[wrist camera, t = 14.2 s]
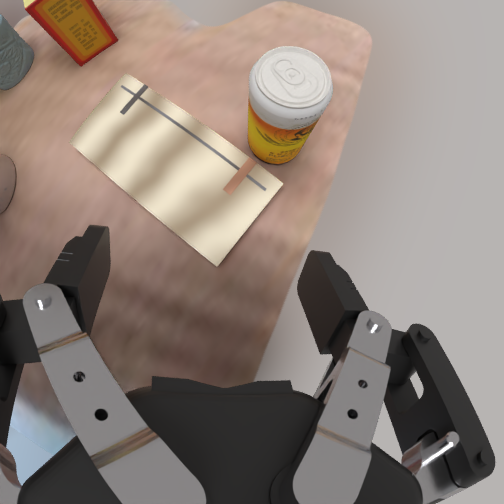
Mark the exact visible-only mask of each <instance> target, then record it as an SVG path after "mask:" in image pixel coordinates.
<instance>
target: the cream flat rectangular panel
mask: <svg viewBox="0 0 504 504" xmlns="http://www.w3.org/2000/svg"><path fill="white" fill-rule="evenodd" d="M69 143H70V144H71V145H73V146H74V147H75V148H76V149H77V150H78V151H79V152H80V153H82V154H83V155H84V156H85V157H86V158H87V159H88V160H90V161H91V162H92V163H93V164H94V165H95V166H96V167H98V168H99V169H100V170H101V171H102V172H103V173H104V174H106V175H107V176H108V177H109V178H110V179H111V180H113V181H114V182H115V183H116V184H117V185H118V186H120V187H121V188H122V189H123V190H124V191H125V192H127V193H128V194H129V195H130V196H131V197H133V198H134V199H135V200H136V201H137V202H138V203H140V204H141V205H142V206H143V207H144V208H146V209H147V210H148V211H149V212H150V213H152V214H153V215H154V216H155V217H156V218H158V219H159V220H160V221H161V222H162V223H164V224H165V225H166V226H167V227H168V228H170V229H171V230H172V231H173V232H175V233H176V234H177V235H178V236H179V237H181V238H182V239H183V240H184V241H186V242H187V243H188V244H189V245H190V246H192V247H193V248H194V249H195V250H197V251H198V252H199V253H200V254H202V255H203V256H204V257H205V258H207V259H208V260H209V261H210V262H212V263H213V264H214V265H215V266H218V265H219V264H220V263H221V262H222V260H223V259H224V258H225V257H226V255H227V254H228V253H229V252H230V250H231V249H232V248H233V246H234V245H235V244H236V243H237V241H238V240H239V239H240V238H241V236H242V235H243V234H244V233H245V231H246V230H247V229H248V228H249V226H250V225H251V224H252V223H253V221H254V220H255V219H256V218H257V216H258V215H259V214H260V213H261V211H262V210H263V209H264V208H265V206H266V205H267V204H268V203H269V201H270V200H271V199H272V198H273V197H274V195H275V194H276V193H277V192H278V190H279V189H280V188H281V187H282V185H283V183H282V182H281V181H279V180H278V179H277V178H276V177H274V176H273V175H272V174H270V173H269V172H268V171H267V170H265V169H264V168H263V167H261V166H260V165H259V164H257V162H255V161H254V160H253V159H251V158H250V157H248V156H247V155H246V154H244V153H243V152H242V151H240V150H239V149H237V148H236V147H235V146H233V145H232V144H231V143H229V142H228V141H227V140H225V139H224V138H222V137H221V136H220V135H218V134H217V133H216V132H214V131H213V130H211V129H210V128H208V127H207V126H206V125H204V124H203V123H201V122H200V121H199V120H197V119H196V118H194V117H193V116H191V115H190V114H188V113H187V112H185V111H184V110H182V109H181V108H180V107H178V106H177V105H175V104H174V103H172V102H171V101H169V100H168V99H166V98H165V97H163V96H161V95H160V94H158V93H157V92H155V91H154V90H152V89H151V88H149V87H148V86H146V85H145V84H143V83H141V82H140V81H138V80H136V79H135V78H133V77H132V76H130V75H128V74H127V73H125V74H124V75H123V77H122V78H121V79H120V80H119V81H118V82H117V83H116V84H115V85H114V86H113V88H112V89H111V90H110V91H109V92H108V93H107V94H106V96H105V97H104V98H103V99H102V100H101V101H100V103H99V104H98V105H97V106H96V108H95V109H94V110H93V111H92V112H91V114H90V115H89V116H88V118H87V119H86V120H85V121H84V123H83V124H82V125H81V127H80V128H79V129H78V131H77V132H76V133H75V135H74V136H73V137H72V139H71V140H70V142H69Z"/></svg>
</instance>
